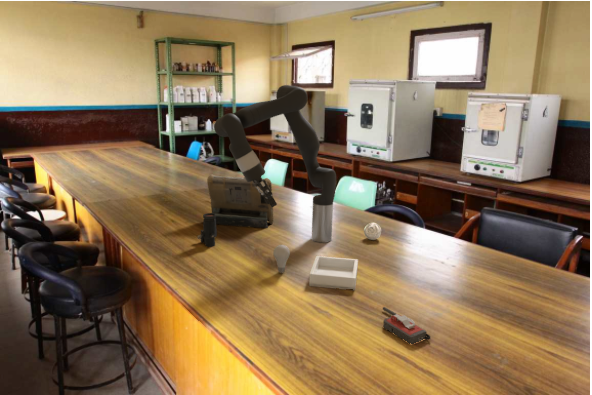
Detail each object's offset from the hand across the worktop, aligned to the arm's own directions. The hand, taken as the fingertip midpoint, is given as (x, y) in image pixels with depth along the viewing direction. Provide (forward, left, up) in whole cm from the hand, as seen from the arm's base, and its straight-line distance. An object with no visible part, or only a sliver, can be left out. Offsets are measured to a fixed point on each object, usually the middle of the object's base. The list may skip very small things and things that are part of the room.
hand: (272, 204), depth 166 cm
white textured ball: (-47, +37, -26) cm, 65 cm away
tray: (+1, +24, -26) cm, 35 cm away
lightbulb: (+1, +4, -26) cm, 26 cm away
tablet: (-56, -29, -26) cm, 68 cm away
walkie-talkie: (+33, +46, -27) cm, 62 cm away
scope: (-22, -33, -26) cm, 47 cm away
